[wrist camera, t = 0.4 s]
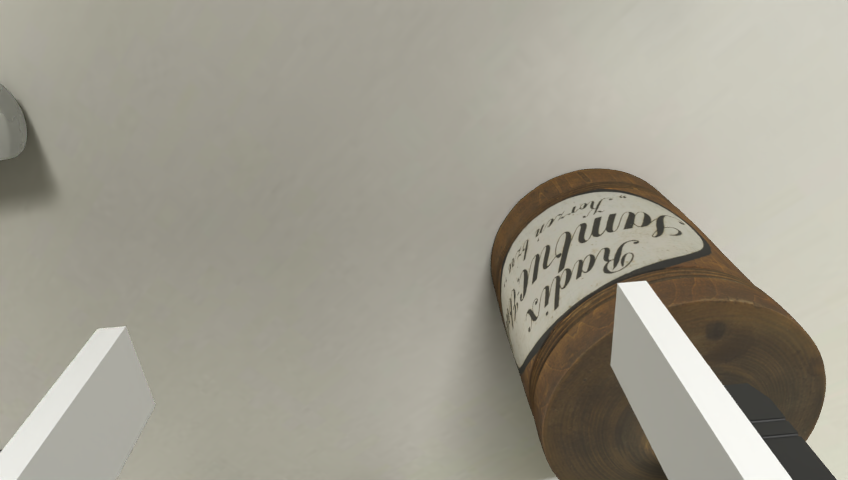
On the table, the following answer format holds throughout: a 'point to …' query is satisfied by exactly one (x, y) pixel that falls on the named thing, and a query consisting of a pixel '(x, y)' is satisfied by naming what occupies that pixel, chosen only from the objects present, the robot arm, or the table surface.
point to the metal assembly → (11, 126)
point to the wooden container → (595, 310)
